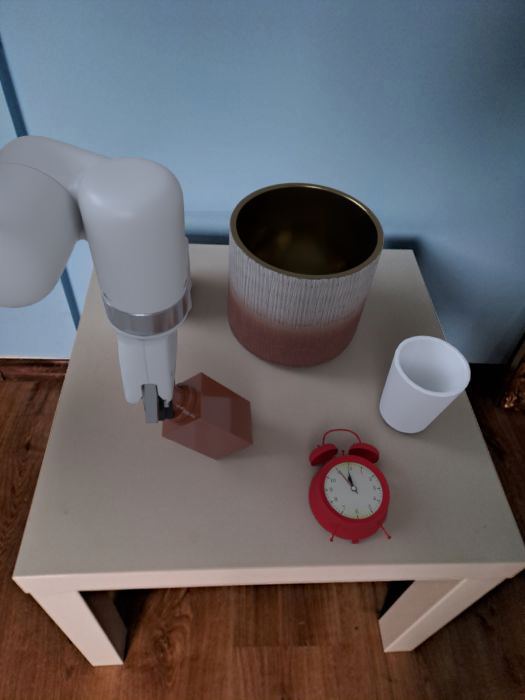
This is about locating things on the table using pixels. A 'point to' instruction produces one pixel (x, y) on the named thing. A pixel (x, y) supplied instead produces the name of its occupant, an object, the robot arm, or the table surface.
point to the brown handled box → (209, 418)
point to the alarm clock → (349, 491)
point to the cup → (422, 383)
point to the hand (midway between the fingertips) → (161, 401)
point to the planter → (300, 271)
